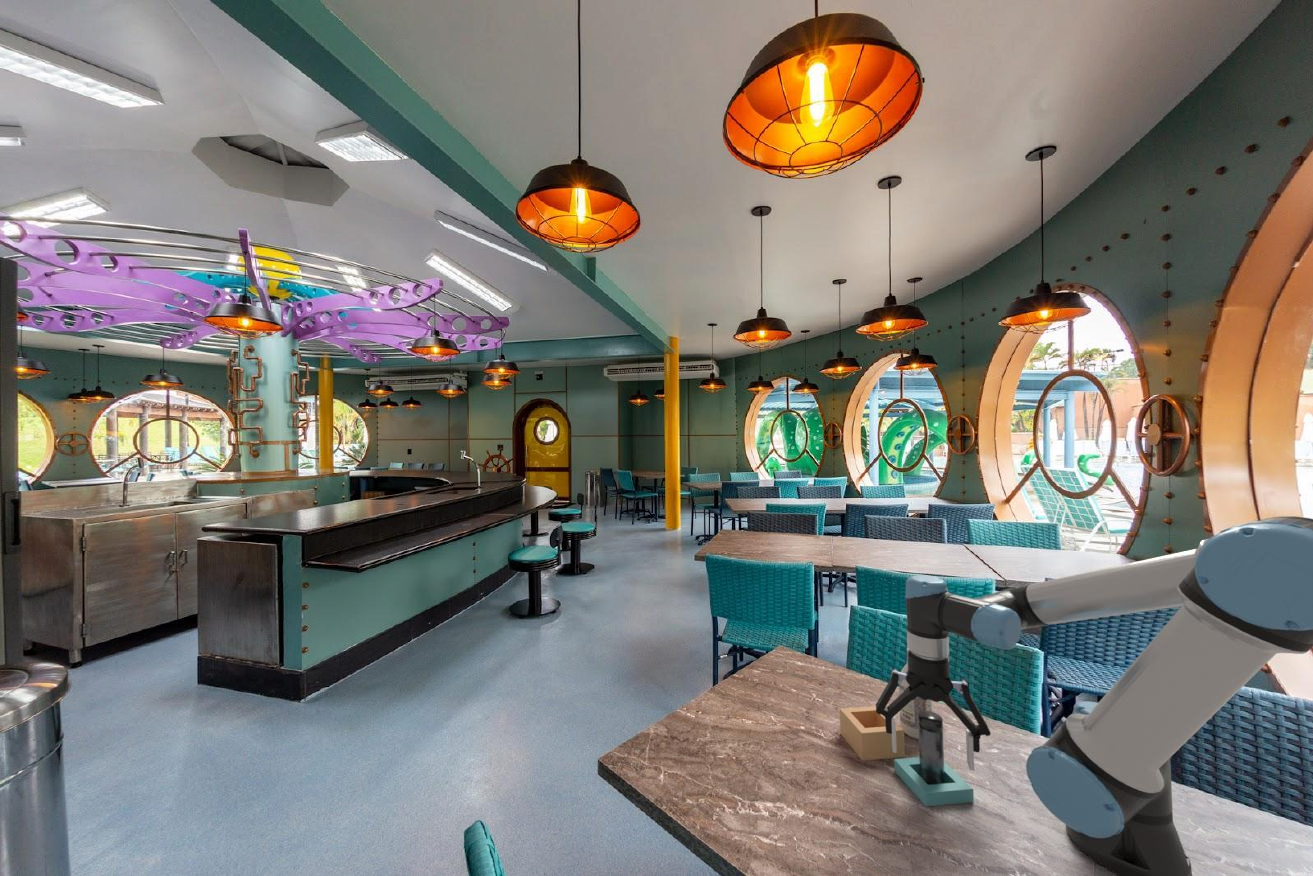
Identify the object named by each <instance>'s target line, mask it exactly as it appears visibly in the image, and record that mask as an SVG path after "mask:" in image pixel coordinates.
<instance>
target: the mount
mask: <svg viewBox="0 0 1313 876" xmlns="http://www.w3.org/2000/svg"><path fill="white" fill-rule="evenodd" d="M893 762H894V763H893V765H894V772H895V774H897V776H898V777H899V778H900V779H901V780H902V781H903V783H905V784H906V786H907V787H908V788H909V789H910V790H911V791H912V793H913V794H915V796H916V797H917V798H918V799H919V801H920V802H921V803H922V804H923V805H924V806H925V807H931V806H932V807H933V806H934V807H935V806H944V805H953V804H954V805H956V804H964V803H965V804H966V803H967V804H968V803H974V802H975V801H974V797H975V796H974V788H973V787H972V786H971V785H970V784H969V783H967V782H966V780H965V779H963V778H962V777H961V776H960V775H959V774H958V773H957V772H956V771H955V770H953V768H951V767H950V765H948V763H946V762H945V761H944V779H945V784H933V785H928V784H927V783H926V782H925V781H924V780H923V779H922V778H921V777H920V767H919V756H917V757H906V758H905V757H902V758H893Z"/></svg>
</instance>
